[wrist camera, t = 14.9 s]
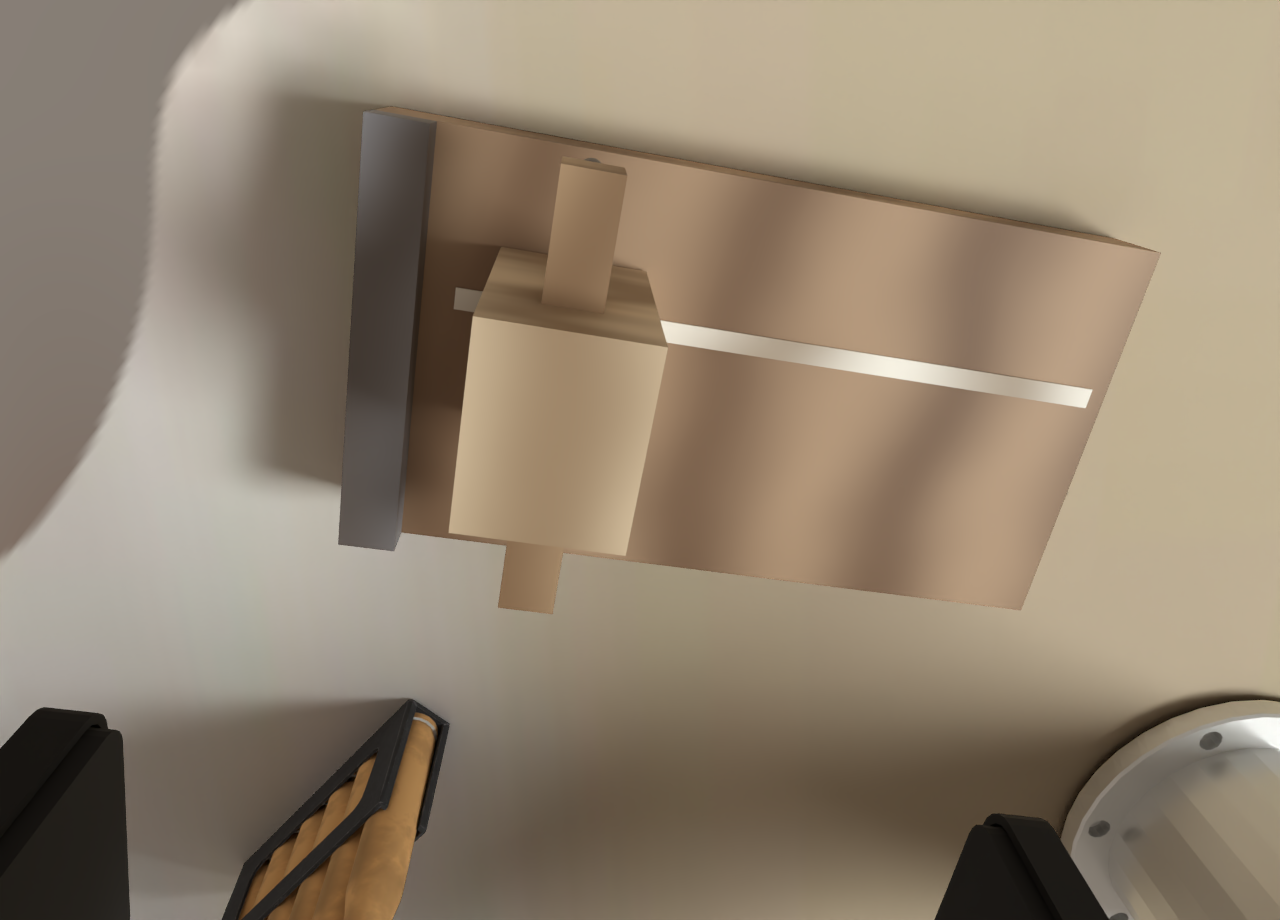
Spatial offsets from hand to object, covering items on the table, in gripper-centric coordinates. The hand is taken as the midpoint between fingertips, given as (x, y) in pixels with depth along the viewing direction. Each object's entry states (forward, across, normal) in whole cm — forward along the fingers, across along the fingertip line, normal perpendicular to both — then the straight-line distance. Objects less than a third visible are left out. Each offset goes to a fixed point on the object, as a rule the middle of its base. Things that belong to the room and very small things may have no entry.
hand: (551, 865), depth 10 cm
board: (+20, -5, 0) cm, 21 cm away
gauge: (+18, +1, -1) cm, 18 cm away
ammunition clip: (+20, +6, +18) cm, 28 cm away
